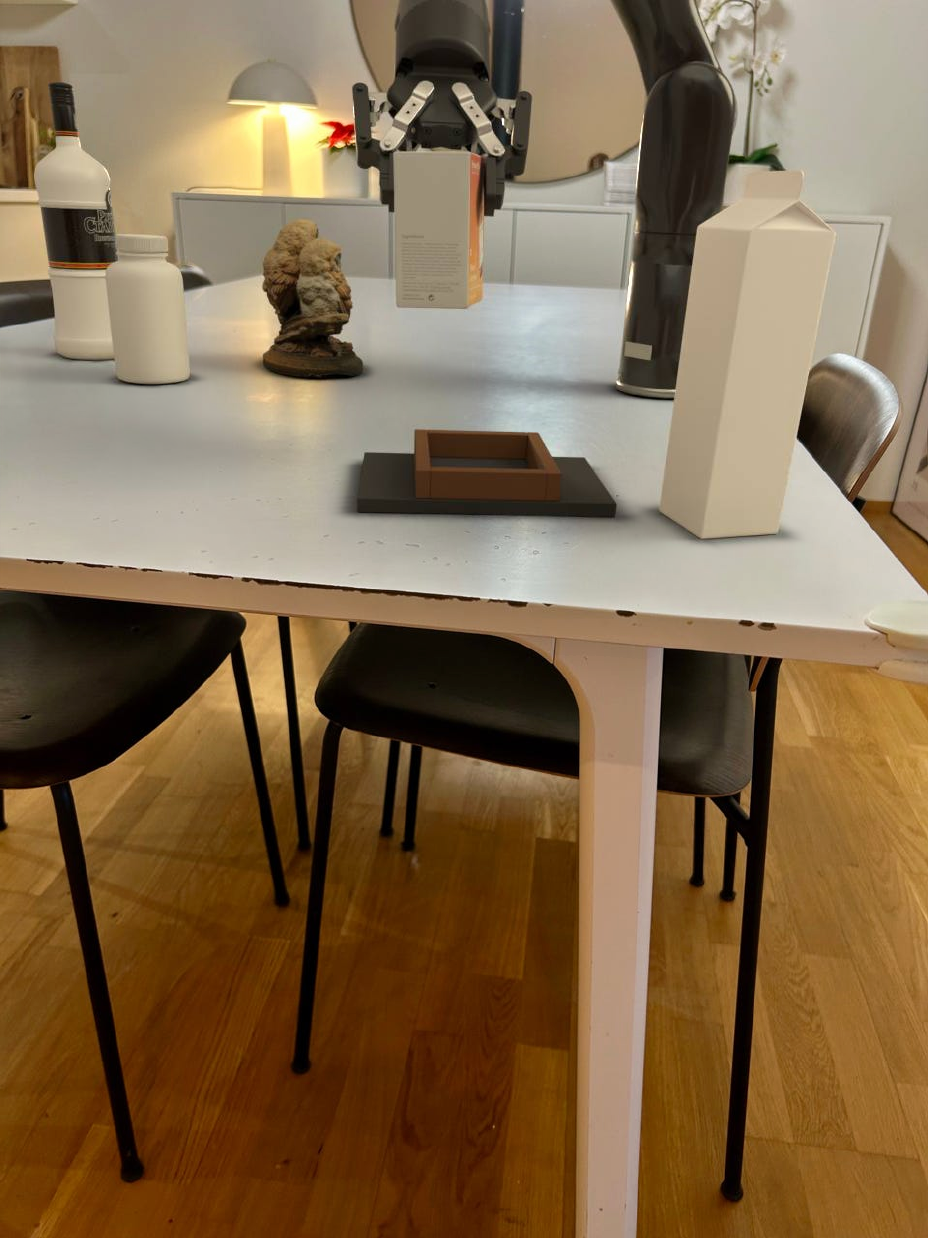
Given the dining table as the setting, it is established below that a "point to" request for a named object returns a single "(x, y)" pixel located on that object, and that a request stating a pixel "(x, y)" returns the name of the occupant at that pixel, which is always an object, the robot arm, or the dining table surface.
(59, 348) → the vodka
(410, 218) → the small box
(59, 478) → the dining table surface
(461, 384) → the dining table surface
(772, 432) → the milk
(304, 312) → the owl figurine
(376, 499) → the dock pad
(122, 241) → the pill bottle
